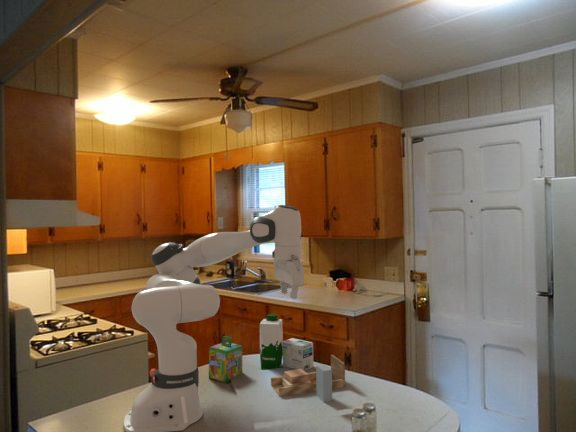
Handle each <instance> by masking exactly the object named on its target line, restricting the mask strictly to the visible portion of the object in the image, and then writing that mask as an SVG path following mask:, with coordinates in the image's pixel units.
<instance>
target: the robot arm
mask: <svg viewBox="0 0 576 432" xmlns="http://www.w3.org/2000/svg"><path fill="white" fill-rule="evenodd" d="M301 217H302V216H301V213H300V210H299V208H297V207H295V206H293V205H284V204H280V205H277V206H275V208H274V209H272V210H271V211H269V212H267V213H265V214H261V215H260V216H259V215H258V216H256V217H253V219H252V221H251V222H250V225H249V229H248V230H245V231H220V232H213V233H209V234H206V235H204V236H202V237H199V238H197V239H195V240H194V241H193V242H191V243H190V244H188V245H187V246H186V247H184V244H182V243H176V242H166V243H162V244H160V245H159V246H157V247H156V248H155V249H154V250H153V252H152V253H151V255H150V259H151V260H150V261H151V263H152V265H153V266H155V269H156V270H157V272H158V273H157V274H153V275H152V276H151V277H149V278H148V280H147V282H146V284H145V290H141V291H139V292H138V293H137V294H135V296H134V298H133V300H132V302H131V303H132V304H131V313H132V316H133V318H134V320H135V321H136V323H138V324H139V325H140V326H142V327H144V328H145V329H146V330H147V331H149V333H150V334H151V335H152V337H153V338H154V340H155V344H156V347H157V356H158V369H156V368H151V369H150V371H149V375H150V378H151V384H150V385H148V386H147V387H146V388H144V389H143V390H142V391H141V392H140V393H138V394H137V395H136V397H135V399H134V400H133V403H132V408H131V410H130V411H128V412H127V413H126V414H125V416H124V417H123V423H122V424H123V425H122V426H123V430H124V431H125V432H180V431H184V430H185V429H186V428H188V427H189V426H190V425H192V424H194V423H196V422H198V421H199V420H201V418H202V416H203V415H204V414H203V413H204V412H203V409H202V405H201V401H200V395H199V383H200V375H199V373H200V371H199V367H198V358H197V357H198V356H197V354H198V352H197V348H198V347H197V342H196V340H195V339H194V338H193V337H192V336H190V335H188V334H186V333H184V332H181V331H179V330H178V329H177V324H181V323H190V322H198V321H203V320H206V319H209V318H211V317H214V316H215V315H216V314H217V313H218V311H219V310H220V303H221V296H220V293H219V292H218V290H217V289H216V288H215V287H214V286H213V285H209V284H201V280H200V277H199V275H197V274H196V272H195V270H194V268H200V267H201V268H202V267H209V266H213V265H216V264H219V263H221V262H223V261H226V260H227V259H230V258H232V257H233V256H235V255H238V254H240V253H242V252H244V251H246V250H249V249H251V248H254V247H257V246H260V245H265V244H274V249H273V251H272V252H271V256H272V258H273V273H274V278H275V279H276V280H279V286H280V292H281V294H282V295H287V294H288V288H287V287H288V286H287V284H288V285H290V288H291V289H290V290H291V292H290V294H289V296H290V299H292V300H296V299H297V298H298V291H299V288H300V287H302V286H304V284H305V272H304V271H305V270H304V264H303V262H302V261H301V260H302V257H303V256H302V254H303V251H302V250H303V249H302V246H303V245H302V241H301V235H302V218H301Z"/></svg>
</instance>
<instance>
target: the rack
mask: <svg viewBox="0 0 576 432" xmlns="http://www.w3.org/2000/svg"><path fill="white" fill-rule="evenodd" d="M330 369H332V390H335V389H341V388H346V364H345V362H344V361H342V360H341V359H340V358H338V357H337V356H335V355H334V354H330ZM307 373H308V374H309V381H310V382H311V383H310V384H302V385H295V386H288V387H283V385H282V378H284V375H283V376H282V375H281V376H275V377H270V386H271V387H272V389H273V390H274V391H275V392H276V394H277V395H278V397H286V396H294V395H298V394H306V393H314V392H317V390H316V371H312V372H307Z"/></svg>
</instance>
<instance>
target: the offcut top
mask: <svg viewBox="0 0 576 432" xmlns="http://www.w3.org/2000/svg"><path fill="white" fill-rule="evenodd" d="M308 373H309V372H306V370H305V371H303V370H302V369H291V370H286V371H283V376H284V379H285V380H287V381H288V382H289V383H290V384H297V383H302V382H307V381H309V374H308Z"/></svg>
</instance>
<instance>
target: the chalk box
mask: <svg viewBox="0 0 576 432" xmlns="http://www.w3.org/2000/svg"><path fill="white" fill-rule="evenodd" d="M242 373H243V345H241V344H238V343H234V342H233V337H231V336H226V335H223V336H222V339H221V343H217V344H214V345H212V346H209V347H208V378H209V379H212V380H216V381H219V382H222V383H225V384H228V383H229V382H231V379H232V378H235V377H236V376H238V375H240V374H242Z"/></svg>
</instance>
